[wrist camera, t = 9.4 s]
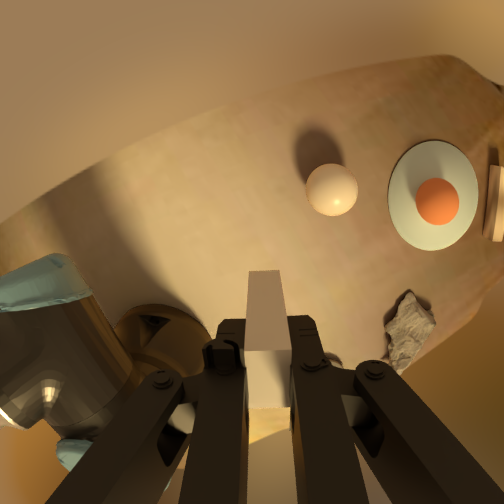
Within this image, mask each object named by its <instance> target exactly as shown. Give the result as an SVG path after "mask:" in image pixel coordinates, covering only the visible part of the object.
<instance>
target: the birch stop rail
mask: <svg viewBox="0 0 504 504" xmlns="http://www.w3.org/2000/svg"><path fill="white" fill-rule="evenodd" d="M503 232H504V167H501V166H496V165H490V174H489V188H488V198H487V207H486V216H485V223H484V230H483V236H484V237H486V238H488V239H489V240H491V241H502V238H503Z"/></svg>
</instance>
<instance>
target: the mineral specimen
mask: <svg viewBox="0 0 504 504" xmlns="http://www.w3.org/2000/svg"><path fill="white" fill-rule="evenodd" d="M434 317H435V316H434V313H433V312H432V311H431V310H427V311H426V310H425V309H423V308H422V306H421V305H420V304H419V303H418V302H417V301H416V298H415V296H414V294H413V293H412V292H409V293H408V294H407V295H406V296H405V298H404V300H403V301H401V302H400V305H399V306H398V312H397V314H396V316H395V317H394V319H393V320H391V321H389V322H388V323H387V324H386V325H385V331H386V332H387V333H389V334H390V335H391V342H390V344H389V346H388V349H389V354H390V356H389V360H390V361H389V363H388V365H390V366H391V367H392V368H393V369H394V370H395V371H396V372H397V373H398V375H399V376H400V374H402V371H403V370H405V369H406V368H407V367H408V366H409V365H410V362H411V361H412V360H413V358H414V357H415V355H416V353H417V352H418V351H419V350H420V349H421V348H422V345H423V343H424V341H425V340H426V339H427V337H428V336H429V335H430V333H431V332H432V330H433V329H434V327H435V326H436V322H435V320H434Z"/></svg>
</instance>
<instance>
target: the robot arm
mask: <svg viewBox="0 0 504 504" xmlns="http://www.w3.org/2000/svg"><path fill="white" fill-rule="evenodd" d="M92 294H93V291H92V289H91V288H90V287H88V286H87V284H86V283H85V281H84V279H83V278H82V276H81V275H80V273H79V271H78V270H77V268H76V266H75V264H74V263H73V261H72V260H71V259H70V258H69V257H67V256H66V255H64V254H60V253H52V254H49V255H47V256H45V257H42V258H40V259H38V260H35V261H33V262H31V263H29V264H27V265H24V266H22V267H20V268H18V269H16V270H14V271H11V272H9V273H7V274H5V275H3V276H1V277H0V429H1V428H3V427H4V426H10V427H14V428H17V429H21V430H28V429H29V428H31V427H32V426H33V425H34V424H36V423H37V422H38V421H40V420H41V419H44V420H45V421H47V423H48V424H49V425H50V426H51V427H52V428H53V429H54V430H55V431H56V432H57V433H58V434H59V436H60V437H61V440H60V441H58V442H57V444H56V445H57V449H56V455H57V457H58V460H59V461H60V463H61V464H62V465H63V466H64V467H65V468H66V469H67V470H69V471H70V472H69V474H68V475H67V476H66V477H65V479H64V480H63V481H62V482H61V484H60V485H59V486H58V488H57V489H56V490H55V491H54V493H53V494H52V495H51V496H50V498H49V499H48V500H47V501H46V503H45V504H157V503H158V501H159V499H160V497H161V496H162V494H163V492H164V491H165V490H166V489H167V488H168V486H169V484H170V481H171V478H172V476H173V474H174V472H175V470H176V468H177V466H178V465H179V463H180V461H181V459H182V457H183V455H184V453H185V452H186V450H187V448H188V446H189V450H188V455H187V460H186V465H185V471H184V476H183V481H182V487H181V492H180V497H179V503H178V504H247V479H248V445H249V411H248V409H256V408H283V407H291V410H290V430H291V432H292V443H293V454H294V465H295V477H296V489H297V501H298V504H369V501H368V496H367V492H366V488H365V484H364V480H363V476H362V472H361V468H360V464H359V460H358V456H357V452H356V449H355V444H356V446H357V448H358V449H359V451H360V453H361V454H362V456H363V457H364V459H365V461H366V462H367V464H368V465H369V467H370V469H371V470H372V472H373V473H374V475H375V477H376V478H377V480H378V482H379V483H380V485H381V486H382V488H383V489H384V491H385V492H386V494H387V496H388V498H389V499H390V501H391V502H392V504H504V492H503V491H502V490H501V489H500V488H499V486H498V485H497V484H496V483H495V482H494V481H493V480H492V478H491V477H490V476H489V475H488V474H487V472H485V470H484V469H483V468H482V467H481V466H480V464H479V463H478V462H477V461H476V460H475V459H474V458H473V456H472V455H471V454H470V453H469V452H468V451H467V450H466V449H465V447H464V446H463V445H462V444H461V443H460V442H459V441H458V439H457V438H456V437H455V436H454V435H453V434H452V433H451V432H450V431H449V429H448V428H447V427H446V426H445V425H444V424H443V423H442V422H441V421H440V420H439V418H438V417H437V416H436V415H435V414H434V413H433V412H432V411H431V409H430V408H429V407H428V406H427V405H426V404H425V403H424V402H423V401H422V400H421V399H420V397H419V396H418V395H417V394H416V393H415V392H414V391H413V390H412V389H411V388H410V387H409V385H408V384H407V383H406V382H405V381H404V380H403V379H402V378H401V377H400V376H399V375H398V373H397V372H396V371H395V370H394V369H393V368H392V367H391V366H390V365H388V364H387V363H385V362H382V361H379V360H368V361H364V362H362V363H360V364H359V365H358V366H357V367H356V370H349V369H342V368H338V367H336V366H333V365H332V363H331V362H330V360H329V359H328V358H327V357H325V355H324V351H323V348H322V344H321V341H320V337H319V334H318V331H317V327H316V324H315V321H314V320H313V319H312V318H311V317H310V316H309V315H299V316H287V315H286V309H285V303H284V296H283V290H282V284H281V278H280V272H279V270H272V271H249V280H248V296H247V312H246V319H224V320H223V321H222V322H221V323H220V324H219V325H218V329H217V334H216V339H213V340H211V338H210V336H209V334H208V333H207V331H206V330H205V329H204V328H203V326H202V325H201V324H200V323H199V322H197V321H196V320H195V319H194V318H192V317H191V316H189V315H188V314H186V313H184V312H182V311H180V310H178V309H176V308H173V307H170V306H165V305H159V304H147V305H141V306H138V307H135V308H133V309H131V310H130V311H128V312H127V313H126V314H125V315H124V316H123V317H122V318H121V320H120V321H119V322H118V324H117V325H116V327H115V329H114V330H113V328H112V327H111V325H110V324H109V322H108V321H107V319H106V317H105V316H104V314H103V312H102V311H101V309H100V307H99V306H98V304H97V302H96V300H95V299H94V297H93V295H92ZM354 443H355V444H354ZM189 444H190V445H189Z"/></svg>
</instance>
